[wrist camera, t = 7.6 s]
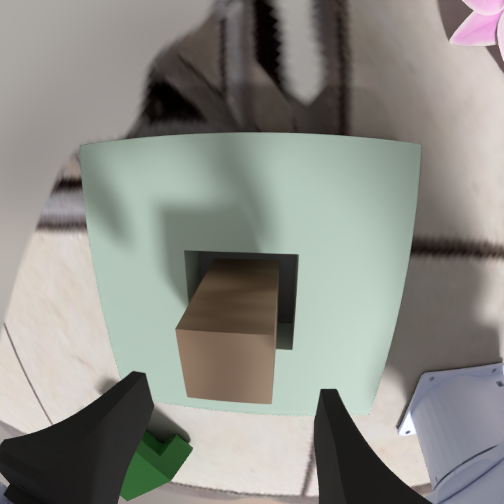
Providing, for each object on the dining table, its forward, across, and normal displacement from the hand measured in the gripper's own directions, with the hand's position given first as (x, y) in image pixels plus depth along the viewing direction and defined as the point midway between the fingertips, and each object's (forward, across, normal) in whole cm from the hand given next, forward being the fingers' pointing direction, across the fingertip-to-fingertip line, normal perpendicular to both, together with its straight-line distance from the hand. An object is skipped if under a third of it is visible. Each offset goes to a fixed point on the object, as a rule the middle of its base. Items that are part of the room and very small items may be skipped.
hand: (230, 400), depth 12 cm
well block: (+10, 0, -1) cm, 10 cm away
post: (+9, 0, 0) cm, 9 cm away
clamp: (+10, +12, +19) cm, 25 cm away
